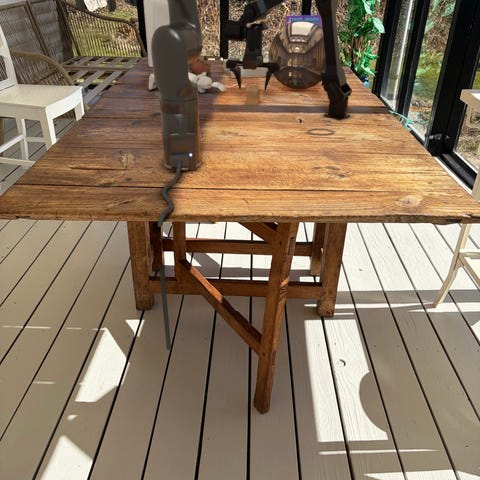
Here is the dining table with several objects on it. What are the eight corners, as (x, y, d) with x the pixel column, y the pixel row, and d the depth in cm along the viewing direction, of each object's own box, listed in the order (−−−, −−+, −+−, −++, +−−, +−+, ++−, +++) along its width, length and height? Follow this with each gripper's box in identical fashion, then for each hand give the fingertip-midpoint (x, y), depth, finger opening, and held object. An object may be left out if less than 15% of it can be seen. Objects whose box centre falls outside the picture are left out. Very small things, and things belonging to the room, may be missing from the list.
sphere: (332, 84, 199) (340, 18, 186) (325, 99, 179) (333, 26, 166) (274, 79, 205) (277, 15, 192) (260, 93, 184) (263, 23, 171)
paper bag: (192, 61, 237) (190, -2, 222) (188, 67, 224) (186, 1, 210) (154, 60, 237) (149, -3, 223) (148, 66, 225) (143, 0, 210)
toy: (168, 102, 172) (167, 83, 168) (144, 87, 190) (143, 69, 186) (228, 94, 182) (228, 76, 179) (199, 80, 201) (199, 63, 197)
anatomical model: (204, 86, 208) (191, 72, 218) (219, 73, 207) (206, 59, 217) (188, 66, 199) (175, 52, 208) (204, 52, 198) (190, 38, 207)
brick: (248, 100, 176) (248, 87, 174) (259, 101, 175) (259, 88, 173) (245, 104, 172) (246, 90, 170) (257, 105, 171) (257, 91, 169)
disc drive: (281, 76, 210) (281, 64, 208) (231, 78, 206) (231, 66, 203) (269, 68, 225) (270, 57, 222) (223, 70, 220) (223, 58, 218)
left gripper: (53, -63, 115) (65, 11, 124) (107, -62, 113) (115, 13, 121) (69, -62, 122) (79, 8, 130) (121, -61, 119) (128, 10, 128)
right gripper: (221, 45, 158) (221, 93, 166) (277, 48, 155) (274, 96, 163) (229, 40, 168) (229, 85, 176) (282, 43, 164) (279, 89, 172)
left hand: (97, 11), depth 126 cm, fingers open, 8 cm apart
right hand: (252, 89), depth 171 cm, fingers open, 9 cm apart
